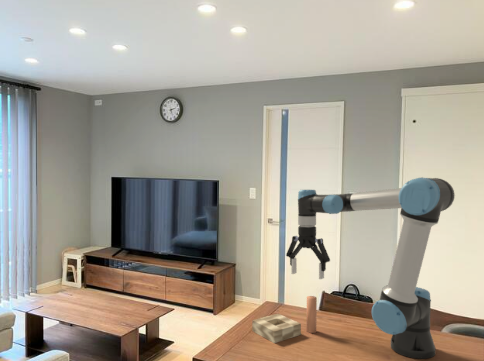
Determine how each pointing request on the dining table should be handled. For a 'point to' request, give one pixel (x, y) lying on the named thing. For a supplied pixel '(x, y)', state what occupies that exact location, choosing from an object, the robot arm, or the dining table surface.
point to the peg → (311, 314)
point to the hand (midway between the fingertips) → (307, 276)
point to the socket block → (276, 327)
